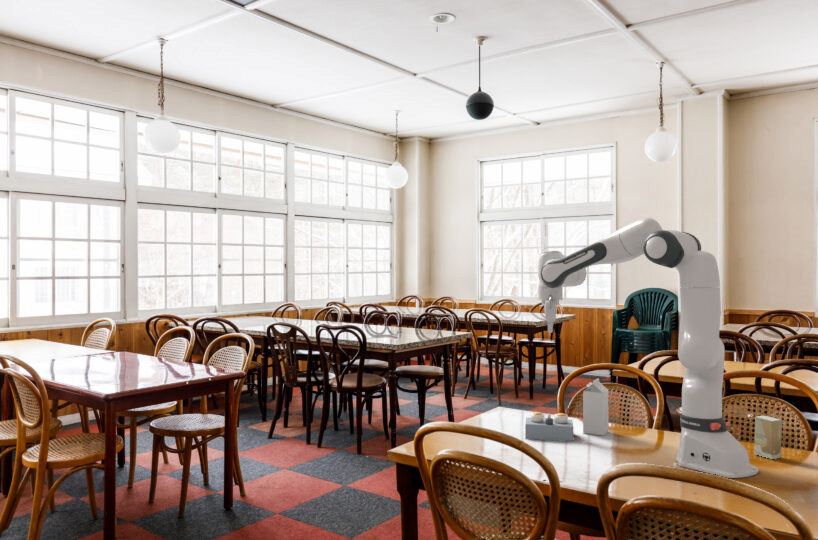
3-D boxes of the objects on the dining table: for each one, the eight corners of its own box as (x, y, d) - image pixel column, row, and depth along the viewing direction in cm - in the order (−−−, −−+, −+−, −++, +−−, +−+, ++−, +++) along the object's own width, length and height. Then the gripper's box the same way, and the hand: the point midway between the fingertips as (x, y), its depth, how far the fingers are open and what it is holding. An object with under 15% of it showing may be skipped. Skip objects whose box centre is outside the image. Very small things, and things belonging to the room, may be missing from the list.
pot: (552, 423, 219) (552, 413, 219) (553, 425, 217) (553, 415, 217) (544, 422, 220) (545, 413, 220) (545, 424, 217) (545, 414, 217)
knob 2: (567, 434, 222) (567, 413, 222) (567, 438, 218) (567, 415, 218) (554, 434, 223) (554, 412, 223) (554, 437, 219) (554, 415, 219)
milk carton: (608, 431, 227) (608, 379, 227) (603, 436, 221) (603, 382, 221) (588, 429, 231) (588, 377, 231) (582, 433, 225) (583, 380, 225)
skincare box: (753, 455, 199) (753, 416, 199) (763, 453, 200) (763, 414, 200) (772, 460, 193) (772, 420, 193) (782, 459, 195) (782, 419, 195)
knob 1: (543, 433, 224) (543, 411, 224) (543, 436, 220) (543, 414, 220) (531, 432, 225) (531, 411, 225) (530, 436, 220) (530, 414, 221)
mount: (572, 433, 225) (572, 419, 225) (573, 441, 215) (573, 426, 215) (526, 431, 228) (526, 417, 228) (525, 438, 218) (525, 424, 218)
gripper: (559, 296, 224) (559, 335, 224) (558, 294, 244) (558, 329, 244) (541, 296, 225) (541, 334, 225) (541, 293, 245) (541, 329, 245)
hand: (550, 332), depth 234 cm, fingers closed
